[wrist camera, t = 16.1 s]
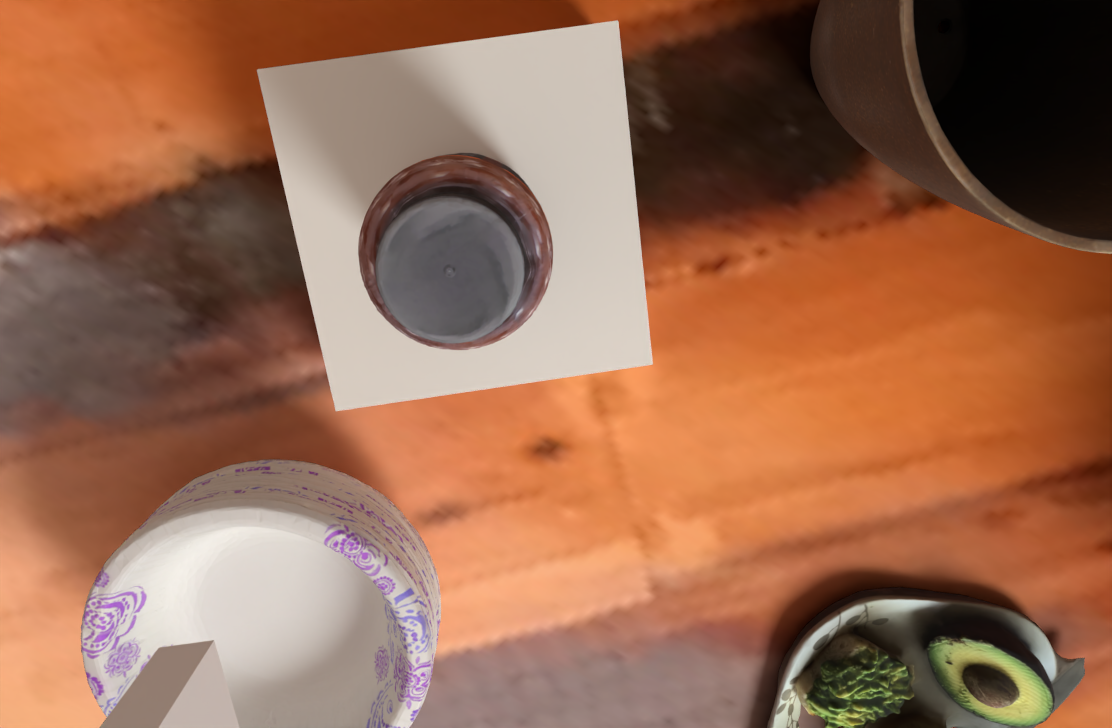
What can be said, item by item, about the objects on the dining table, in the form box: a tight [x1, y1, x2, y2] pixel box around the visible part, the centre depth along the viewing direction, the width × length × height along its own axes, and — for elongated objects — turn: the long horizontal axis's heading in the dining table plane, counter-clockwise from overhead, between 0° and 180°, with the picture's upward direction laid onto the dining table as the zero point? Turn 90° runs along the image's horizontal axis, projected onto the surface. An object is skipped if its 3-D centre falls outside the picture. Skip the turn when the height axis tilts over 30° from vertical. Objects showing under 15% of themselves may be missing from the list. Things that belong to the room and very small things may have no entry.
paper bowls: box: [81, 459, 441, 728], centre depth 36 cm, size 15×15×8 cm
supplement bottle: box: [358, 153, 553, 350], centre depth 25 cm, size 6×6×11 cm
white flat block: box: [257, 21, 653, 411], centre depth 33 cm, size 14×14×5 cm
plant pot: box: [810, 0, 1112, 254], centre depth 27 cm, size 15×15×16 cm
